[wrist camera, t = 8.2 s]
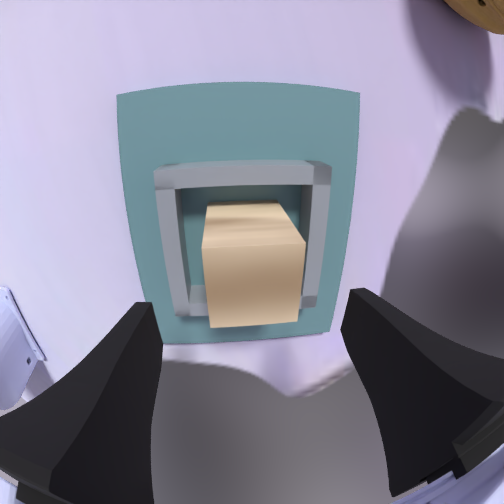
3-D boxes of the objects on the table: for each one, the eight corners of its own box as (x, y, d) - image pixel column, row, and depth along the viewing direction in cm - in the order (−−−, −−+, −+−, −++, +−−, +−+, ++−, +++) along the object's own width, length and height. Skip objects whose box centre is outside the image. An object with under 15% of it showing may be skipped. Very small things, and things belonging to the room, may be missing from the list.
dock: (325, 323, 22) (337, 348, 20) (159, 334, 21) (154, 361, 18) (352, 93, 14) (376, 90, 11) (122, 96, 13) (102, 92, 10)
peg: (274, 259, 18) (297, 321, 12) (212, 263, 17) (210, 327, 12) (276, 199, 16) (306, 243, 11) (207, 202, 15) (201, 248, 10)
